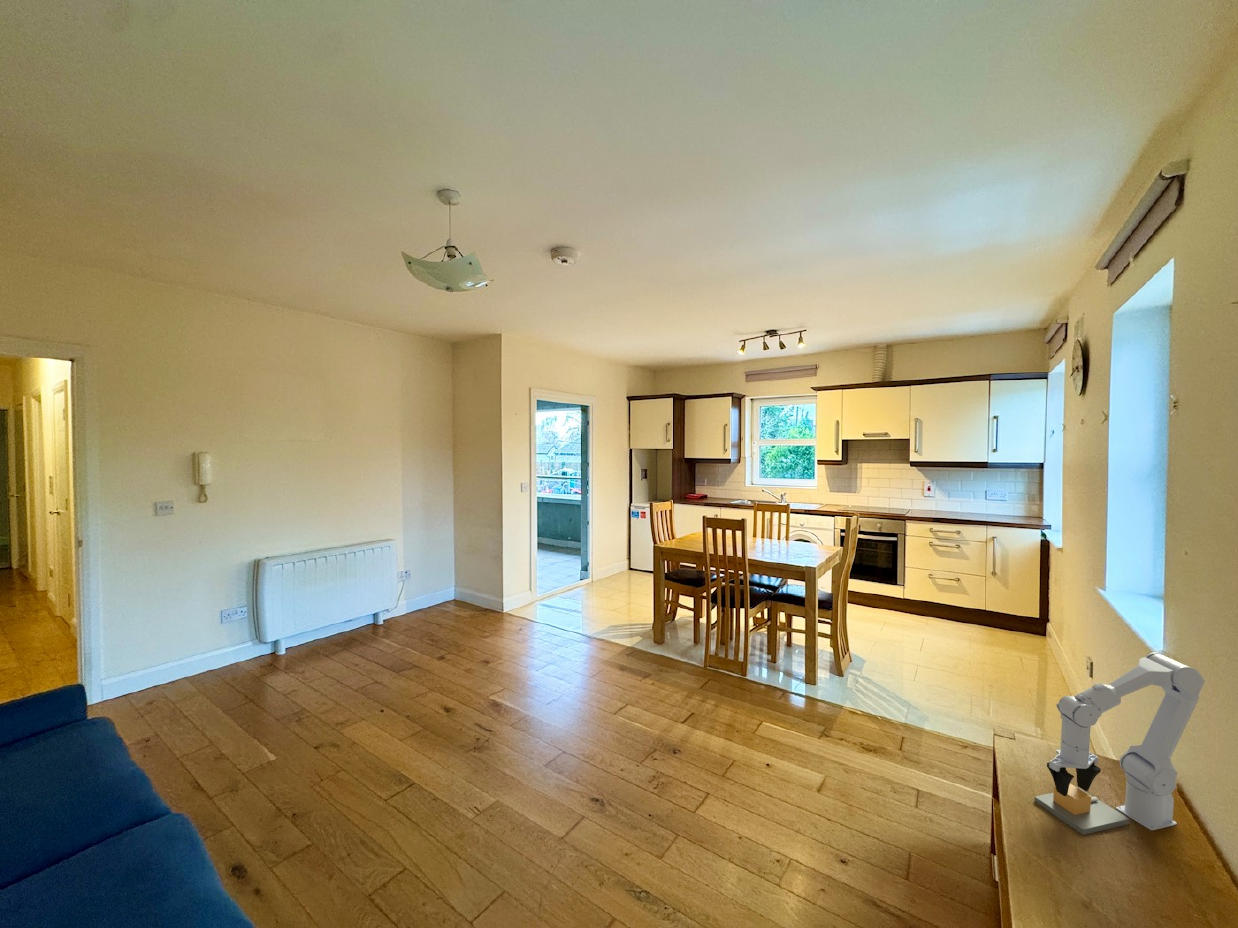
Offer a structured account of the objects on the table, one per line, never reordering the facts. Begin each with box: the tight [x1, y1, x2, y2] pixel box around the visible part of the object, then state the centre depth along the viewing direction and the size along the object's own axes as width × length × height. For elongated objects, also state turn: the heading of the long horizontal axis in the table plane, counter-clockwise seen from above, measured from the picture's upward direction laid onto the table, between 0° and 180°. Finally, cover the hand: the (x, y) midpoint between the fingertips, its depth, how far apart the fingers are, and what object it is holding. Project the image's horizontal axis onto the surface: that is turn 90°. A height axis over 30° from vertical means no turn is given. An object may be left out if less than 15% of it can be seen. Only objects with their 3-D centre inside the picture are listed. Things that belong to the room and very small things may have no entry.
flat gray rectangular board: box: [1034, 787, 1130, 836], centre depth 136 cm, size 16×12×4 cm
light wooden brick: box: [1053, 783, 1092, 815], centre depth 136 cm, size 5×5×4 cm
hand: (1072, 790), depth 136 cm, fingers open, 7 cm apart
